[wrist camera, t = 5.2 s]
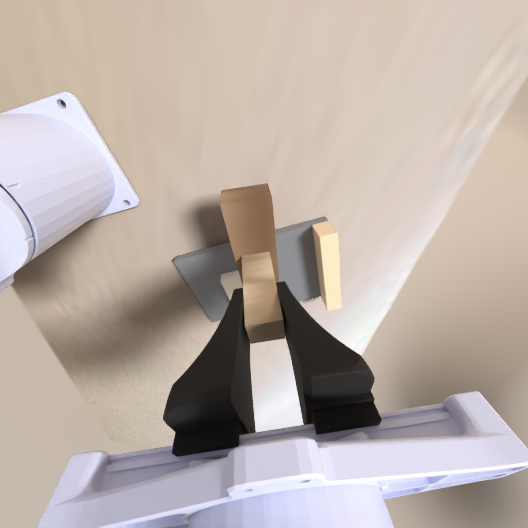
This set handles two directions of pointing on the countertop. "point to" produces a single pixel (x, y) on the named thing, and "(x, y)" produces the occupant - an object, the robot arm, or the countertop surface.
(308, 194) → the countertop surface
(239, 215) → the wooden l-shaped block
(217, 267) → the board
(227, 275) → the tile
